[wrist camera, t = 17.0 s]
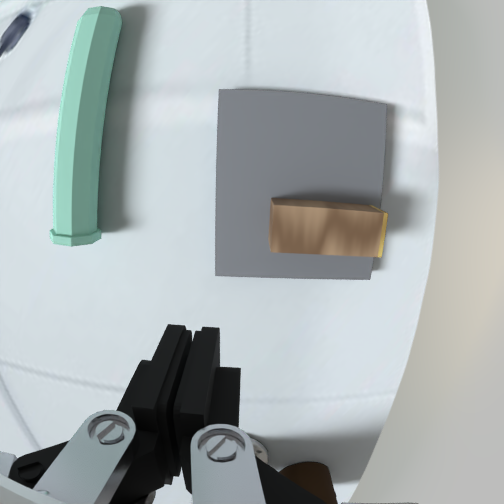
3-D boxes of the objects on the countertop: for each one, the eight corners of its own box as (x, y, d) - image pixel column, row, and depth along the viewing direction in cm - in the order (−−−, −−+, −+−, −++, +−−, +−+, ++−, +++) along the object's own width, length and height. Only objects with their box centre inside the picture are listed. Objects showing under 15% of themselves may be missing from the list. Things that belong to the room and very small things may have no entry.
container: (74, -2, 19) (44, 246, 27) (131, -1, 22) (99, 246, 29) (79, 18, 25) (54, 230, 32) (128, 19, 27) (102, 231, 34)
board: (364, 272, 34) (370, 279, 32) (217, 268, 34) (215, 276, 32) (379, 106, 29) (386, 104, 27) (220, 93, 28) (218, 89, 26)
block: (268, 239, 31) (367, 244, 31) (270, 252, 27) (381, 257, 27) (270, 197, 30) (372, 205, 30) (273, 205, 26) (388, 213, 26)
